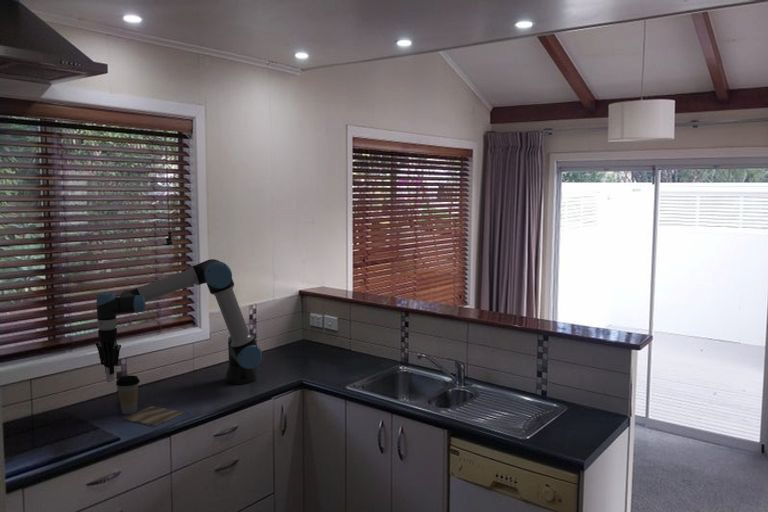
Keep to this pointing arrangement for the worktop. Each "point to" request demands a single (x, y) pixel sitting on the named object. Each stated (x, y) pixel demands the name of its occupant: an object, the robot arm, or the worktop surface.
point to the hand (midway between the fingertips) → (110, 380)
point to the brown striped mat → (153, 415)
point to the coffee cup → (128, 393)
